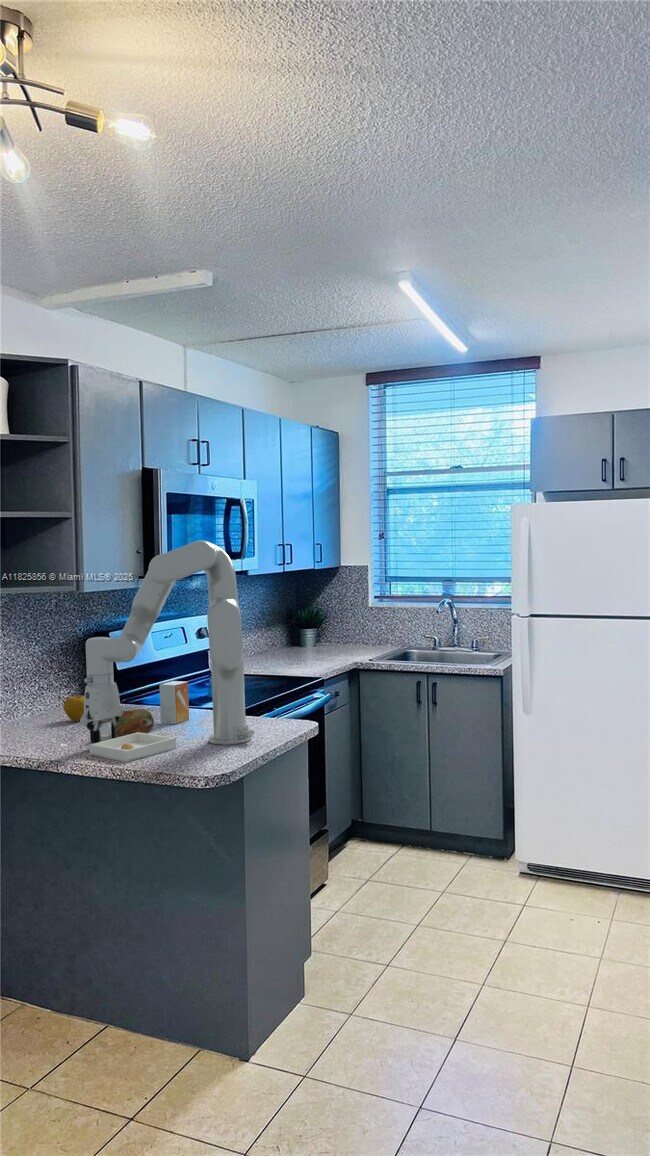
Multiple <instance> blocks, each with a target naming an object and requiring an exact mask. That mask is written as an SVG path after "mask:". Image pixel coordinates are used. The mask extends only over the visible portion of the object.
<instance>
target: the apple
mask: <svg viewBox="0 0 650 1156" xmlns="http://www.w3.org/2000/svg"><path fill="white" fill-rule="evenodd" d="M84 696H85V695H78V694H77V695H74V696H70V697H67V698H66V699H65V701H64V704H63V710H64V712H65V714H66V716H67V717H68V718H69V720H70V721H72V722H78V721H79V720H80V719H81V718H82V716H83V714H84ZM79 722H80V721H79Z"/></svg>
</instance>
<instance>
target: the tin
mask: <svg viewBox="0 0 650 1156" xmlns="http://www.w3.org/2000/svg"><path fill="white" fill-rule="evenodd" d="M122 711H123V714H122V715H121V717H120V718H119V720H118V721H117V725H116V726H115V738H118V737H122V736H126V735H130V734H134V733H138V732H140V733H147V734H151V732H152V730H153V728H154V725H155V724H154V721H155V720H154V716H153V715H152V714H151V712H150V711H148V710H147V709H144V708H137V709H126V710H125V709H124V710H122Z"/></svg>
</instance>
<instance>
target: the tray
mask: <svg viewBox="0 0 650 1156" xmlns="http://www.w3.org/2000/svg"><path fill="white" fill-rule="evenodd" d="M125 743H130V744H132V745H133V747H134V748H133V749H129V750H125V749H121V746H122V745H123V744H125ZM88 747H89V756H91V755H94V756H93V757H97V756H98V757H97V758H102V757H103V758H102V759H107V758H108V760H113V761H120V762H124V763H129V762H132V761H137V760H139V759H143V758H148V757H150V756H154V755H157V754H162V753H164V752H168V751H171V750H172V751H173V750H176V749H177V737H172V736H166V735H159V734H153V733H148V734H147V733H140V732H138V733H134V734H130V735H126V736H122V737H118V738H114V739H110V740H106V741H102V742H98V743H94V744H92V743H90V744H88Z"/></svg>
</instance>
